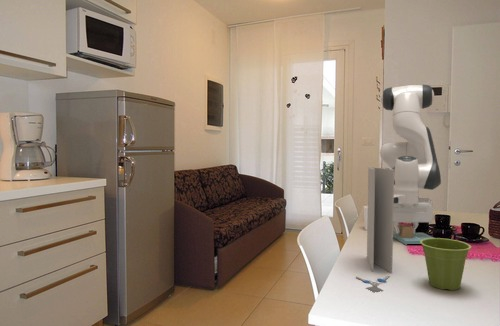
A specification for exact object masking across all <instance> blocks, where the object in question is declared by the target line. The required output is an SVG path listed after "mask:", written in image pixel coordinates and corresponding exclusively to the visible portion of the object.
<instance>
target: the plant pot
mask: <svg viewBox="0 0 500 326" xmlns="http://www.w3.org/2000/svg"><path fill="white" fill-rule="evenodd" d="M420 243H421V244H422V245H421V246H422V251H423V254H424V259H425V265H426V271H427V279H428V282H429V284H430V286H432V287H434V288H437V289H439V290H449V291H455V290H459V289H460V288H461V284H462V280H463V274H464V269H465V265H466V259H467V257H468V254H469V251H470V250H471V249H472V245H470V244H469V243H467V242H465V241H460V240H457V239H456V240H455V239H450V238H441V237H433V238H428V239H423V240H421V241H420Z"/></svg>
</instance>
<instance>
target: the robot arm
mask: <svg viewBox="0 0 500 326" xmlns="http://www.w3.org/2000/svg"><path fill="white" fill-rule="evenodd" d="M434 100H435V92H434V89H433V87H432V86H431V85H429V84H422V85H419V84H411V85H410V84H409V85H402V86H395V87H394V86H393V87H392V86H391V87H388V88H385V89H384V90H383V91H382V94H381V97H380V102H381V105H382V108H383V109H384V110H385V111H392V127H393V130H394V132H395V133H396V135H398V137H400V138H403V140H404V139H405V140H406V141H393V142H387V143H384V144H383V145H382V146H381V147H380V149H379V150H380V151H379V154H380V156H379V157H380V158H381V160H382V161H383V162H384V163H386V164H387V165H388V167H389V168H390V169H393V170H394V209H393V228H395V232H396V233H397V234H401V229H399V228H398V225H400V224H399V223H411V224H412V226H411V227H413V228H414V229H413V234H415V233H416V229H417V228H418V226H419V223H432V222H433V221H434V213H433V205H434V204H433V200H432V199H429V197H428V198H427V197H425V198H421V197H420V191H419V189H424V190H435V189H437V188H438V187H439V186H440V185H441V183H442V179H443V178H442V171H441V170H440V165H439V163H438V159H437V153H436V148H435V145H434V141H433V137H432V132H431V130H430V128H429V127H428V126H426V125H425V124H424V123H423V121H422V113H421V112H422V111H421V110H422V109H427V108H429V107H431V106H432V105H433V102H434Z"/></svg>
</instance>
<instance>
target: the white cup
mask: <svg viewBox="0 0 500 326" xmlns="http://www.w3.org/2000/svg"><path fill="white" fill-rule="evenodd" d="M363 219H364V220H363V222H364V230H366V231H367V222H368V205H364V206H363Z"/></svg>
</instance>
